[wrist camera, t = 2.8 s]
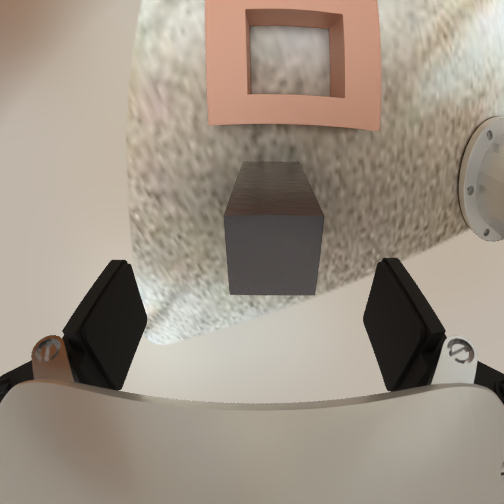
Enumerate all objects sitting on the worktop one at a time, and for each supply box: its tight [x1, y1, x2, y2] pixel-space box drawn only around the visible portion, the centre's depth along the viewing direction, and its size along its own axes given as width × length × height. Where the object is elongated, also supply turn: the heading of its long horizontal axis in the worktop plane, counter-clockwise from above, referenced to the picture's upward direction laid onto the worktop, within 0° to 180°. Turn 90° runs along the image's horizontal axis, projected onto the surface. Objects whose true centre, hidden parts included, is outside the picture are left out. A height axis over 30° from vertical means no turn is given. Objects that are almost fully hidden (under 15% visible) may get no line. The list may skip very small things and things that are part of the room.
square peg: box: [224, 162, 324, 295], centre depth 16 cm, size 4×4×10 cm
